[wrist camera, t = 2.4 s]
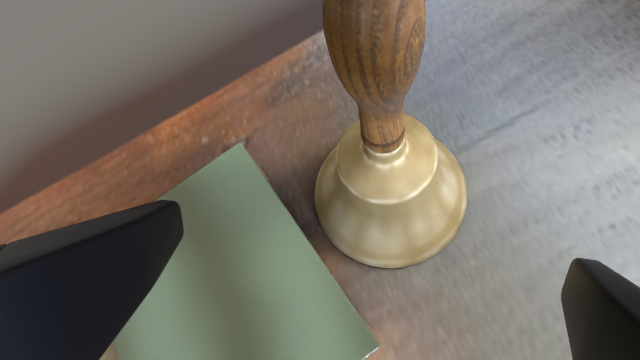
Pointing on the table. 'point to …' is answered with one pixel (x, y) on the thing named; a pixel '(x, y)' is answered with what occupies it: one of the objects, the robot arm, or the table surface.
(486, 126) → the table surface
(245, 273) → the rack
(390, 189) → the hand bell
